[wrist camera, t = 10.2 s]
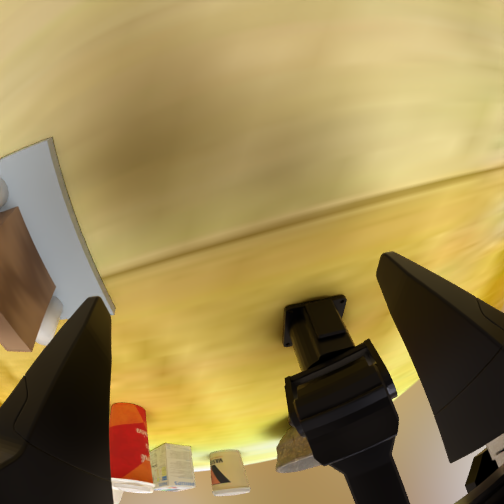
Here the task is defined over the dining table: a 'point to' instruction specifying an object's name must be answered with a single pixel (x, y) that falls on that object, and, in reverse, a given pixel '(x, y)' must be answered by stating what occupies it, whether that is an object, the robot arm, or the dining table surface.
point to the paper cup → (129, 449)
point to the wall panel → (51, 230)
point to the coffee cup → (228, 473)
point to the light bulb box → (172, 467)
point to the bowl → (294, 453)
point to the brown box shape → (21, 284)
